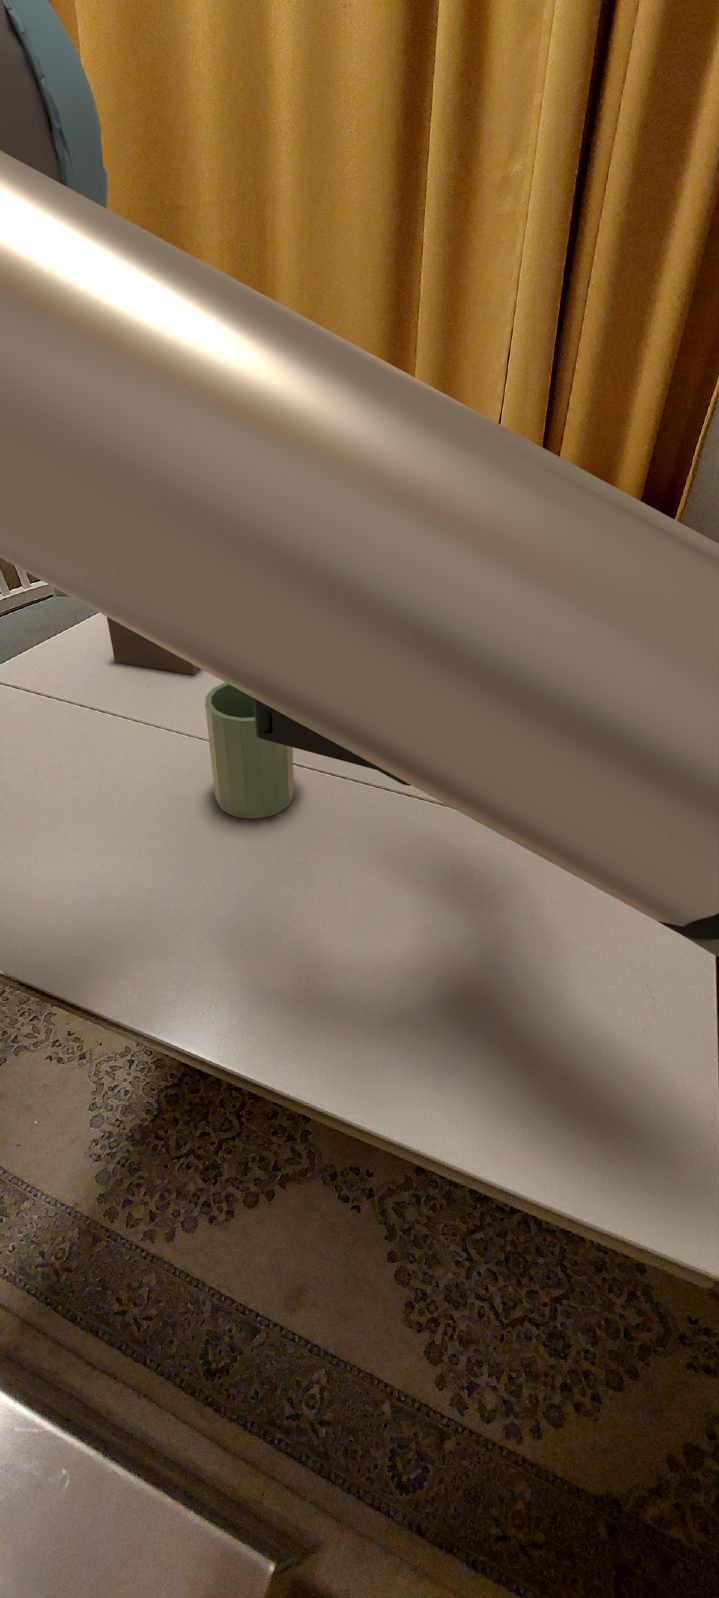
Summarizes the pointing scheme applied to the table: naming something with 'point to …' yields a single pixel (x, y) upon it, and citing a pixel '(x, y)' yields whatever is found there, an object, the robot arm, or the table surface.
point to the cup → (245, 758)
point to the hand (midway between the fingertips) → (317, 622)
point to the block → (144, 651)
